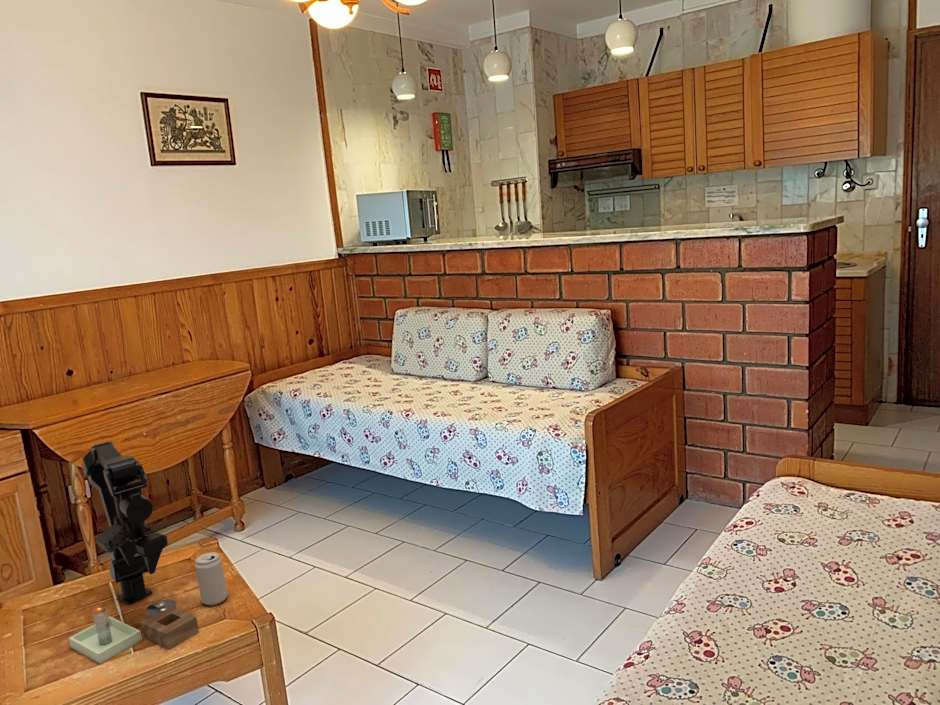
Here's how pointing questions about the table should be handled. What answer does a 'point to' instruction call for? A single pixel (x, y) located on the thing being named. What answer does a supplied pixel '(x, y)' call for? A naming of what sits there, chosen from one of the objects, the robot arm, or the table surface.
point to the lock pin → (102, 624)
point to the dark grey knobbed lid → (159, 607)
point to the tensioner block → (170, 627)
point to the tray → (90, 647)
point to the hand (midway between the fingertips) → (141, 569)
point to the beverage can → (211, 578)
